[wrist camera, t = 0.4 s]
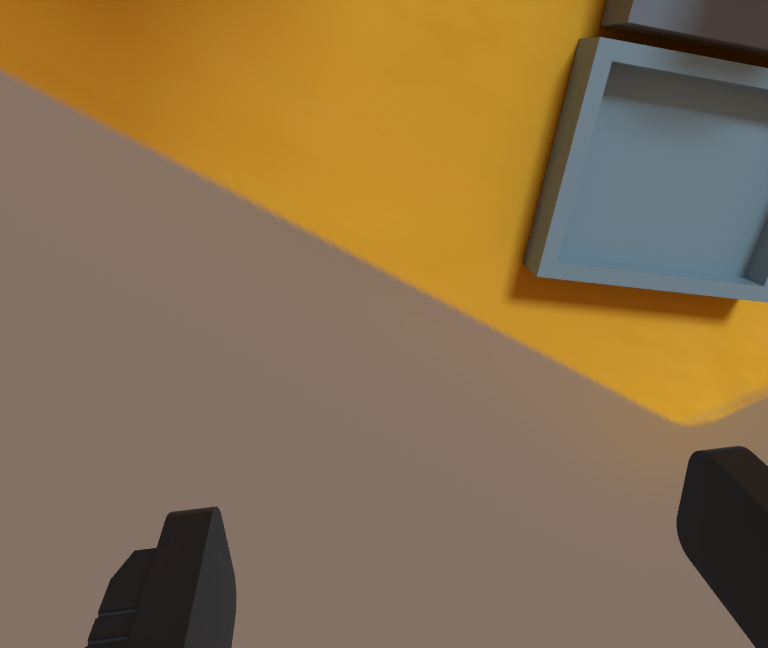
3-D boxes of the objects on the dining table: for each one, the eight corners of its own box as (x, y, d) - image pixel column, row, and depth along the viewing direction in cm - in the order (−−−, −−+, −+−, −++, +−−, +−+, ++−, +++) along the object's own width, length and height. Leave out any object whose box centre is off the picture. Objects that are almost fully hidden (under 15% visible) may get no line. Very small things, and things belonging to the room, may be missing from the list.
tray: (579, 38, 32) (599, 36, 30) (828, 85, 35) (865, 86, 33) (522, 263, 37) (536, 276, 35) (744, 289, 40) (771, 302, 38)
